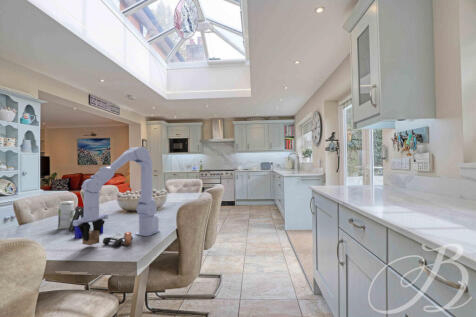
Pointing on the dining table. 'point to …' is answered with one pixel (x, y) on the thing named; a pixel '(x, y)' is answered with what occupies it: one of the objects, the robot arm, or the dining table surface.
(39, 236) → the dining table surface
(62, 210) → the syrup box
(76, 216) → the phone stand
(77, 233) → the cable clip
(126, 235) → the pin
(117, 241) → the dolly
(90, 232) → the block
